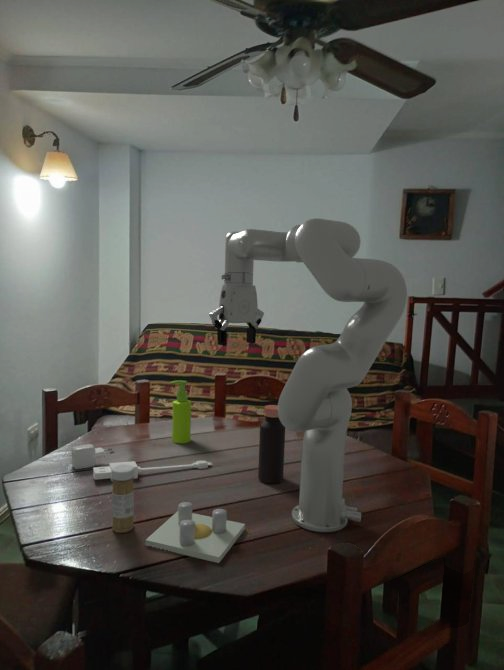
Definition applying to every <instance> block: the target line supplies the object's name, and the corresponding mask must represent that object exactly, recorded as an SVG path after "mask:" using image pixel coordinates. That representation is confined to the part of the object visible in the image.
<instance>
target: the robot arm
mask: <svg viewBox="0 0 504 670" xmlns="http://www.w3.org/2000/svg"><path fill="white" fill-rule="evenodd" d="M224 247H225V249H224V250H225V251H224V253H225V255H224V274H222V275H221V280H223V281H224V284H222V286H221V290H220V296H219V305H218V308H216V309H214V310H212V311H210V313H209V315H208V316H209V318H210V320H211V323H212V325H213V326H214V327H215V329H216V331H217V333H216V334H217V335H216V338H217V345H219V346H222V347H223V346H224V347H226V346H227V339H228V336H227V335H228V331H227V330H226V328H227V327H228V325H229V324H246V325H247V328H246V340H245V341H246V343H248V344H253V345H254V344H256V341H257V340H256V337H257V329H258V328H259V326H260V324H261V323H262V320H263V318H264V315H265V312H263V310H262V309H261V310H260V309H259V308H258V306H259V305H258V293H257V288H256V285H254V261H265V262H279V263H281V262H290V263H291V262H295V263H299V264H300V263H303V264H304V265H305V267H306V268H307V269H308V271H309V273H311V275H312V276H313V278H314V280H316V282H317V283H318V285H319V286H320V287H321V289H322V291H324V293H325V294H327V296H329V297H330V298H331V299H333V300H335V301H337V302H342V303H352V302H353V303H358V302H359V303H363V305H362V306H361V307H360V308H359V309H358V310H357V311H356V312H355V313H353V315H352V316H351V317H350V318H349V320H348V321H347V322H346V324H345V326H344V329H343V331H342V332H341V334H340V335H339V337H338V338H337V340H335V341H334V342H332V343H329V344H319V345H315V346H312V347H310V348H308V349H306V351H304V352H303V353H302V354H301V355H300V356H299V357H298V360H297V362H296V363H295V365H294V366H293V369H292V371H291V373H290V375H289V377H288V379H287V381H286V383H285V385H284V387H283V389H282V390H281V393H280V395H279V398H278V402H277V405H278V416H279V419H280V421H281V423H282V425H283V426H284V427H285V429H287V430H289V431H291V432H298V433H301V432H303V437H302V443H301V453H300V454H301V457H300V478H299V479H300V480H299V501H298V504H297V505H296V506H294V507H293V508H292V511H291V519H292V521H293V522H294V524H295V525H297V526H299V527H301V528H302V529H306V530H308V531H312V532H317V533H333V532H336V531H337V532H338V531H340V530H343V529H344V528H346V527H347V525H348V520H352V521H354V522H359V523H361V519H362V512H359V511H358V508H357V507H354V506H353V507H352V506H348V505H346V502H345V501H346V499H345V498H343V484H344V467H345V464H344V463H345V452H346V442H347V441H346V440H347V433H348V426H349V423H350V418H351V416H352V415H351V414H352V409H353V408H352V407H353V402H352V400H353V399H352V397H351V394H350V391H349V390H348V389H349V388H354V387H356V386H358V385H360V384H361V383H362V382H363V381H364V378H365V377H366V376H367V375H368V373H369V371H370V369H371V367H372V366H373V364H374V362H375V361H376V359H377V357H378V356H379V354H380V352H381V350H382V349H383V346H384V345H385V343H386V342H387V340H388V338H389V337H390V336H391V333H393V331H394V329H395V328H396V326H397V324H398V323H399V321H400V319H401V318H402V316H403V313H404V311H405V308H406V304H407V300H408V299H407V298H408V289H407V284H406V280H405V277H404V276H403V273H401V270H399V269H398V267H397V266H395V265H393V264H392V263H390V262H387V261H385V260H380V259H374V258H358V257H355V256H356V255H357V254H358V252H359V250H360V247H361V236H360V233H359V232H358V230H357V228H355V227H354V226H353V225H351V224H349V223H347V222H343V221H338V220H332V219H331V220H330V219H324V218H310V219H308V220H305V222H303V223H302V224H296V225H294V226H293V227H291V228H290V229H289V231H284V232H283V231H282V232H281V231H273V230H264V229H256V228H248V229H244V230H241V231H230V232H227V234H226V236H225V246H224Z"/></svg>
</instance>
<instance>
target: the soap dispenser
mask: <svg viewBox="0 0 504 670" xmlns="http://www.w3.org/2000/svg"><path fill="white" fill-rule="evenodd" d="M169 384H171V385H175V384H179V389H177V390H176V400H173V401H172V424H171V425H172V430H171V431H172V435H171V438H172V442H173V443H174V444H188V443H189V442H191V426H192V425H191V424H192V419H191V418H192V401H191V400H189V399H188V390H186V384H188V381H187V380H181V379H179V380H173V381H170V382H169Z"/></svg>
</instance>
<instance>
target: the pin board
mask: <svg viewBox="0 0 504 670" xmlns="http://www.w3.org/2000/svg"><path fill="white" fill-rule="evenodd" d="M177 507H178V508H177V511H176V512H175V513H173V515H171V516H170V518H168V519H167V520H166V521H165V522H164V523H163V524H162V525H160V526H159V527H158V528H157V529H156V530H155V531H153V533H151V535H149V536H148V537H147V538H146V539H145V545H147V546H146V547H149V546H152V547H151V548H154V547H156V548H155V549H158V548H160V549H159V550H162V549H164V550H163V551H166V550H168V551H167V552H170V551H171V553H174V552H175V553H174V554H179V555H183V556H186V557H187V556H188V557H192V558H195V559H199V560H204V561H207V562H212V563H217V564H219V563H220V562H221V561H222V560H223V559H224V557H225V556H226V555H227V553H229V551H230V550H231V548H232V547H233V545H235V543H236V542H237V541H238V539H239V538H240V536H241V535H242V534H243V532H244V531H245V530H246V523H242V522H238V521H233V520H228V512H227V510H226V509H223V508H216V509H213V510H212V516H208V515H204V514H203V515H202V514H199V513H193V503H191V502H189V501H183V502H180V503H178V506H177Z"/></svg>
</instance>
